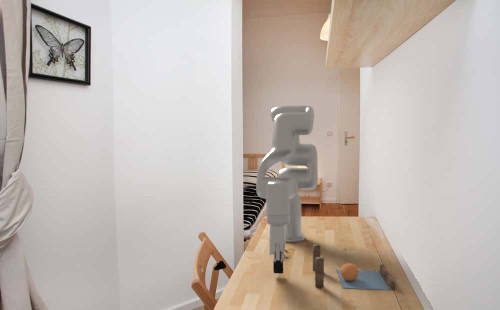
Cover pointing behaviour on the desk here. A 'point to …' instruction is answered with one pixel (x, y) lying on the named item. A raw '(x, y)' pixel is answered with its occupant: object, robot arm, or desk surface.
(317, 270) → the post near camera
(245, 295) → the desk surface
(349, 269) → the ball
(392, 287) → the wall
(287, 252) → the creature
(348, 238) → the desk surface
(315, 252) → the post near arm
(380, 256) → the desk surface
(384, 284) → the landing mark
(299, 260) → the desk surface
